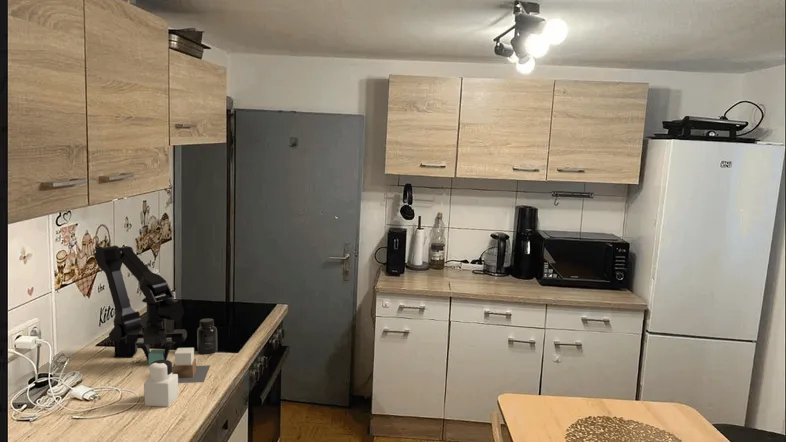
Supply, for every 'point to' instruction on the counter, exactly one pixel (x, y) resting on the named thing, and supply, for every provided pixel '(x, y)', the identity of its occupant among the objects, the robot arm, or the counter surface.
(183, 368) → the tower base
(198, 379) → the mat
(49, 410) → the counter surface
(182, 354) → the tower mid
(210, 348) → the supplement bottle
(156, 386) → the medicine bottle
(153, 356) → the teal cube
